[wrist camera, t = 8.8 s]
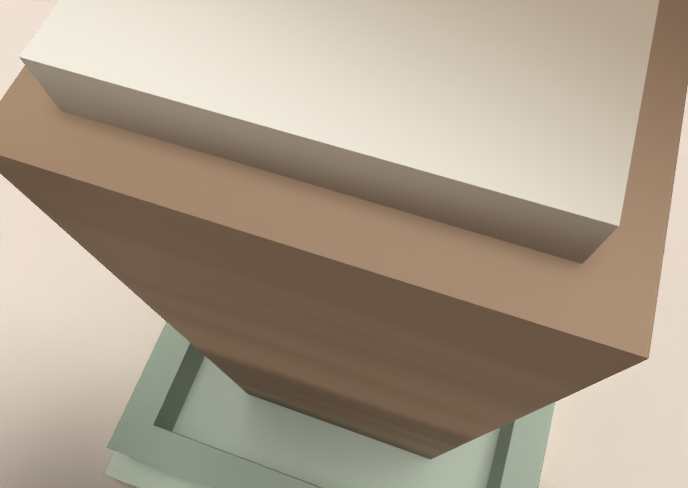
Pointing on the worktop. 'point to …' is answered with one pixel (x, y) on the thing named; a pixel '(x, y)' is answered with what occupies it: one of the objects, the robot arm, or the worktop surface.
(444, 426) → the wooden square pillar
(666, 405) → the worktop surface
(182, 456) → the tray
